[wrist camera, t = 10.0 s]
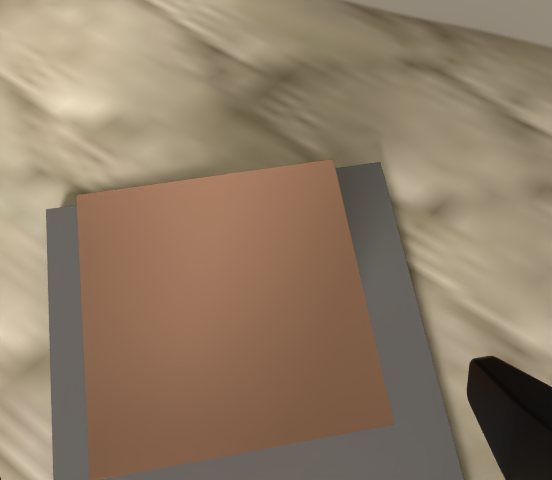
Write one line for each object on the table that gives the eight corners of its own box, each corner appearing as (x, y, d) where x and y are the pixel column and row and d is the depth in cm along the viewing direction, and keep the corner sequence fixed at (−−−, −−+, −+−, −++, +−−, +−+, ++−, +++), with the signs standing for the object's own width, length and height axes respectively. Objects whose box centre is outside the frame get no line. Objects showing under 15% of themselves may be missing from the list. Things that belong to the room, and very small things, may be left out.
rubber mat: (464, 519, 18) (476, 526, 17) (69, 602, 16) (57, 614, 15) (374, 172, 22) (380, 162, 21) (55, 218, 21) (46, 209, 20)
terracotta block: (321, 411, 18) (393, 424, 8) (183, 436, 17) (90, 481, 8) (296, 278, 19) (333, 158, 10) (169, 299, 19) (76, 195, 9)
